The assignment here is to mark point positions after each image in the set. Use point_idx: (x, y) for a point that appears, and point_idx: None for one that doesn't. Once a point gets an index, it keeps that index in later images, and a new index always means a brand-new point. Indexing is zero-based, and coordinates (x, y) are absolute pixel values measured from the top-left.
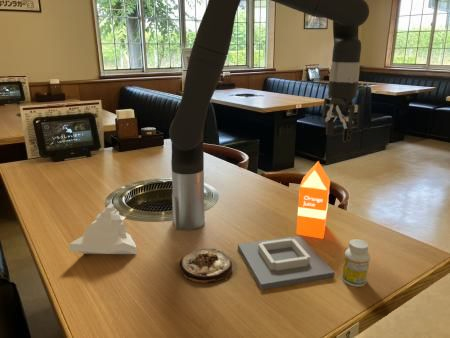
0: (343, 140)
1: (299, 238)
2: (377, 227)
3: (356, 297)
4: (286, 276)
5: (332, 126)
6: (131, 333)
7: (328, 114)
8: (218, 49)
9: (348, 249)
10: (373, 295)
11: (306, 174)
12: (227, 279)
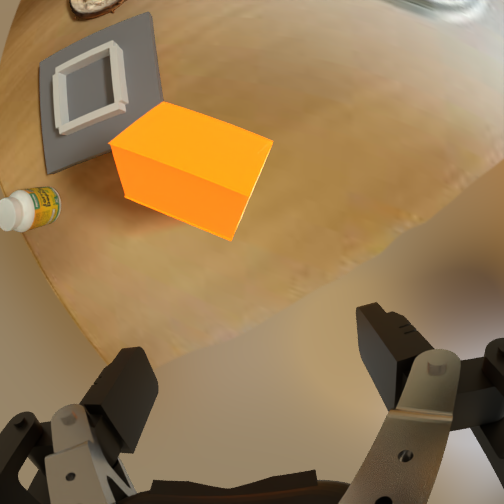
0: (121, 350)
1: None
2: (224, 329)
3: None
4: (46, 95)
5: (381, 383)
6: None
7: (405, 432)
8: None
9: (19, 197)
10: None
11: (260, 147)
12: (74, 18)
